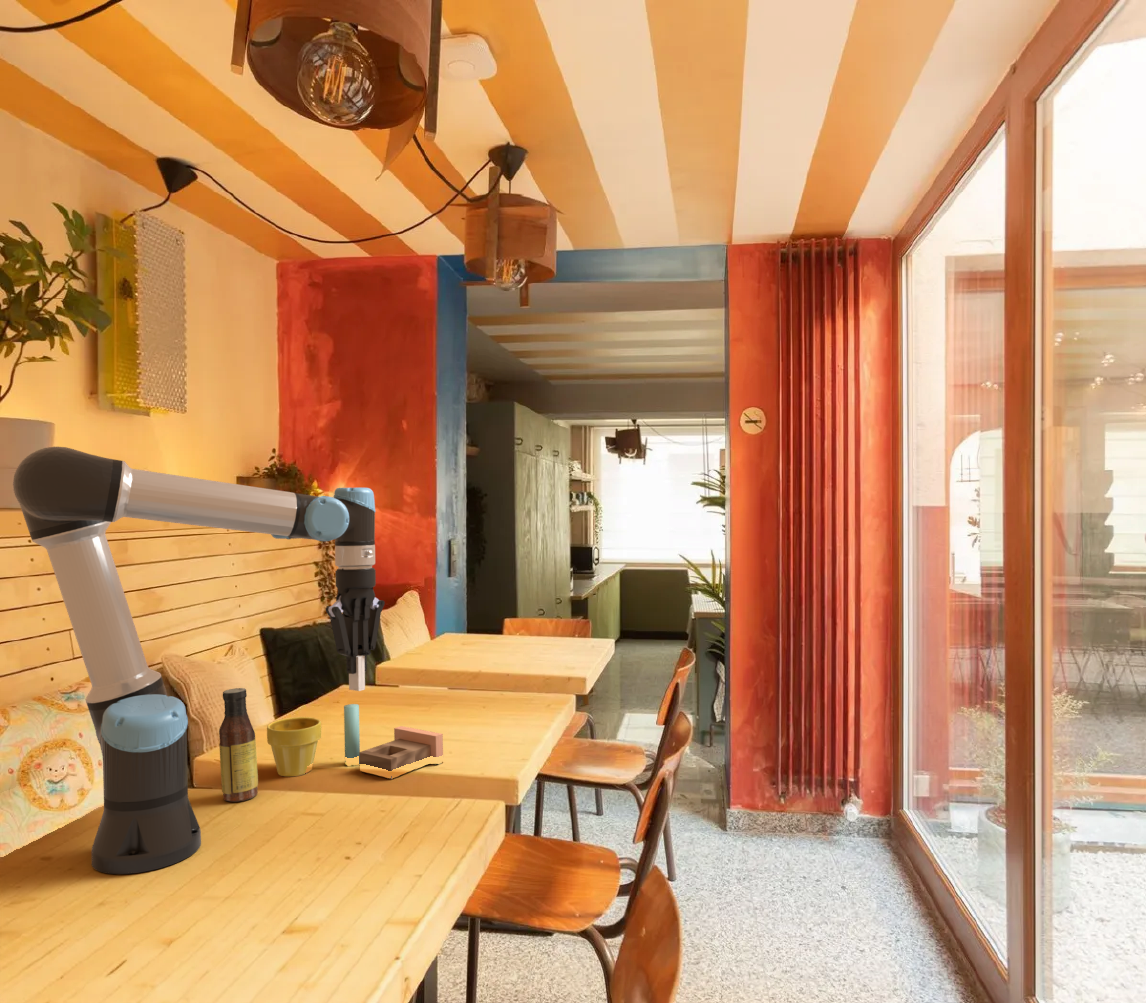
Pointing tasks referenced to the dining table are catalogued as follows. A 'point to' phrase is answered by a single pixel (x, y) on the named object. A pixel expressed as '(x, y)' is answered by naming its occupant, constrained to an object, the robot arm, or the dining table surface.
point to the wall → (421, 738)
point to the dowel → (351, 730)
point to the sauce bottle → (237, 749)
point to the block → (395, 754)
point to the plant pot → (294, 744)
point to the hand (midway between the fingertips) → (357, 689)
